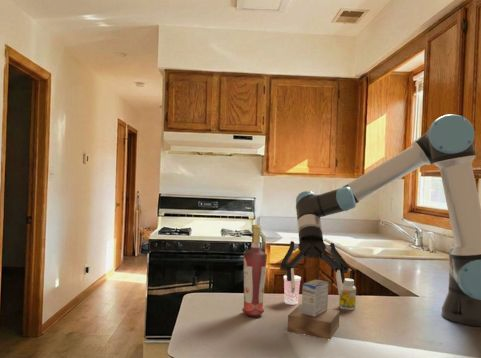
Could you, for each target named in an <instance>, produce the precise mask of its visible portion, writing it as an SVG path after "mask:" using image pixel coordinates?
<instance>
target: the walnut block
mask: <svg viewBox="0 0 481 358" xmlns="http://www.w3.org/2000/svg"><path fill="white" fill-rule="evenodd" d="M340 314H341V312H340V310H338V309H337V310H336V309H331V308H327V311H325V312H323V313H321V314H319V315H317V316H315V317H312V316H309V315H305V314H302V303H299V304H298V306H297V307H296V308H294V309H293V310H292V311H291V312H289V314H287V332H289V333H293V332H294V333H295V334H298V333H299V335H303V334H305V335H304V336H308V335H309V336H308V337H313V336H314V337H315V338H319V339H323V338H324V339H325V340H328V339H329V340H328V341H330V340H331V339H332V338H333V337H334V335H335V334H336V331H337V330H338V329H339V327H340Z"/></svg>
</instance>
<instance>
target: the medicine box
mask: <svg viewBox="0 0 481 358" xmlns="http://www.w3.org/2000/svg"><path fill="white" fill-rule="evenodd" d="M329 285H330V284H329V281H326V280H321V279H312V280H310V281H307V282H304V283H302V293H301V295H302V297H301V304H302V314H305V315H309V316H312V317H315V316H317V315H319V314H321V313H323V312H325V311H327V309H328V303H329V301H328V299H329Z"/></svg>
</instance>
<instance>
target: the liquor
mask: <svg viewBox="0 0 481 358" xmlns="http://www.w3.org/2000/svg"><path fill="white" fill-rule="evenodd" d="M251 227H252V228H251V232H252V237H251V246H250V249H248V250H247V251H245V252H244V253H243V308H241V310H242V312H243V313H244V314H245V315H246V316H247V317H252V318H259V317H260V316H261V315H262V314H263V313H264V312H265V310H264V294H265V283H266V282H265V281H266V271H267V260H268V259H267V257H268V254H266V252H265V251H264V250H261V237H260V234H261V225H260V224H252V225H251Z"/></svg>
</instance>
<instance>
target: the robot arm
mask: <svg viewBox="0 0 481 358" xmlns="http://www.w3.org/2000/svg"><path fill="white" fill-rule="evenodd" d="M474 140H475V129H474V126H473V124H472V123H471V121H470V120H469V119H468V118H466V117H465V116H463V115H459V114H444V115H443V116H440V117H438V118H437V119H435V120H433V122H432V123H431V125H430V126H429V129H428V130H426V131H425V133H424V134H423V135H421V136H420V137H419V138H417V139H415V140H413V142H412V145H410V146H409V147H408V148H406V149H404V150H402V151H401V152H399V153H397V154H396V155H395V156H392V157H391V158H389V159H387V160H386V161H384V162H382V163H380V164H379V165H377V166H376V167H373V169H371V170H369V171H367V172H365V173H364V174H362V175H361V176H359V177H357V178H355V179H354V180H352V181H350V182H349V183H348V184H345V185H343V186H342V187H340V188H337V189H333V190H330V191H327V192H324V193H321V194H316V193H315V192H314V191H307V190H305V191H301V192H300V193H298V194H297V195H296V198H295V210H296V221H297V230H298V231H297V233H298V241H299V243H295V242H294V241H292V240H291V241H290V243H289V248H288V250H287V251H286V254H285V256H284V257H283V259H282V261H281V263H280V266H279V270H281V271H285V275H287V281H291V293H294V290H295V280H294V275H295V270H294V269H295V268H296V266H297V265H298V264H299V263H300V262H301V261H302V260H303V259H304V258H308V259H312V258H313V259H318V258H319V259H320V260H321V261H323V262H325V264H327V266H328V267H330V268H331V269H332V270H333V271H334V272H335V281H336V285H337V292H338V296H340V295H342V292H343V285H342V283H344V281H345V278H346V277H345V274H347V273H348V271H349V269H350V266H349V264H348V263H347V262H346V260H345V259H344V258H343V256H342V255H341V254H340V252H339V251H338V250H337V248H336V245H335V243H333V242H331V243H330V244H325V242H324V236H323V228H322V222H321V218H323V217H327V216H330V215H335V214H339V213H341V212H343V213H344V212H347V211H350V210H352V209H355V208H356V206H357V204H358V203H360V202H361V201H363V200H365V199H367V198H369V197H370V196H372V195H373V194H376V193H377V192H379V191H381V190H382V189H384V188H386V187H388V186H389V185H391V184H393V183H394V182H395V183H396V181H398V180H400V179H402V178H404V177H406V176H407V175H409V174H411V173H412V172H414V171H416V170H418V169H419V168H421V167H423V166H425V165H426V166H431V165H434V166H435V167H437V168H438V169H439V172H440V173H439V174H440V176H441V183H442V187H443V191H444V196H445V202H446V207H447V211H448V216H449V222H450V225H451V232H452V236H453V242H454V246H451V248H450V249H449V254H448V258H449V264H448V265H449V268H448V291H447V295H446V297H445V299H444V302H443V304H442V307H441V315H442V317H443V318H445V319H446V320H449V321H452V322H453V323H454V322H455V323H458V324H462V325H466V326H468V325H469V326H474V327H481V202H480V199H479V193H478V188H477V183H476V180H475V174H474V170H473V168H474V167H473V164H472V163H473V161H474V159H475V158H477V154H476V150H475V145H474ZM297 249H298V250H299V253H298V254H296V255H295V256H294V258H293V259H292V260H291V261H290V259H291V257H292V255H293V253H294V252H295V251H296V250H297ZM328 253H330V255H329V254H328ZM289 261H290V262H289Z"/></svg>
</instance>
